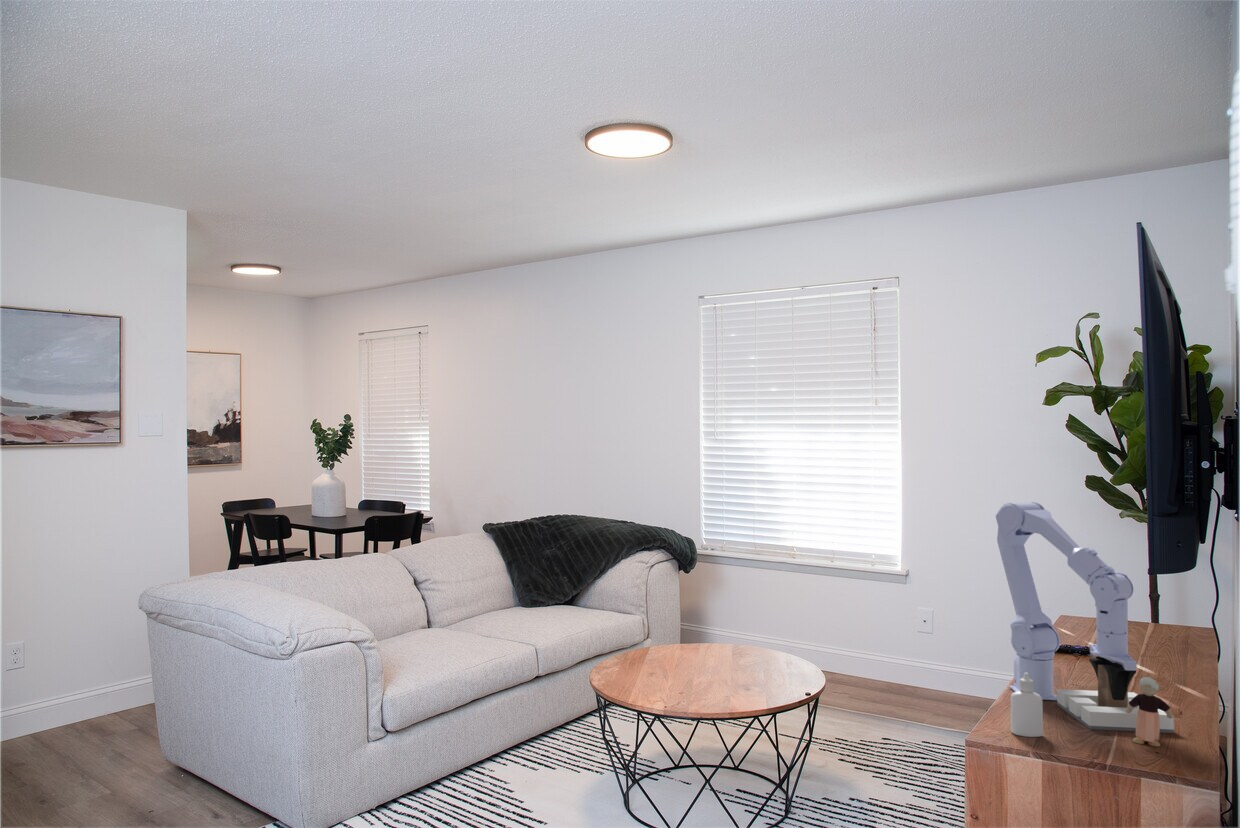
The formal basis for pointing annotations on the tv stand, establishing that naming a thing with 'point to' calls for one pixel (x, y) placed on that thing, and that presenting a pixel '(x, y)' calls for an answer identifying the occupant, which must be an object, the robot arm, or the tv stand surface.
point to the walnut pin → (1107, 691)
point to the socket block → (1104, 712)
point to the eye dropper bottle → (1026, 710)
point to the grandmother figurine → (1148, 712)
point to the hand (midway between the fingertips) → (1112, 696)
